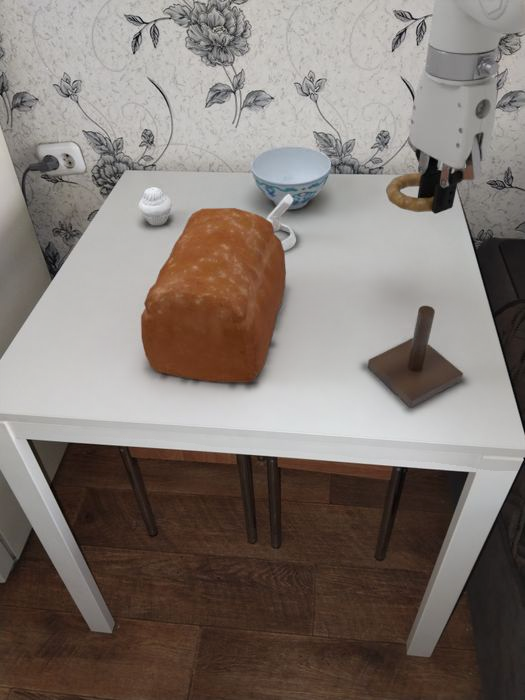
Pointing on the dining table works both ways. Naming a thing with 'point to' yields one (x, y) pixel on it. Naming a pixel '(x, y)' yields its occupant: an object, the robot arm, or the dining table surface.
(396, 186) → the ring
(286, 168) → the chinaware
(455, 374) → the stand
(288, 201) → the hook
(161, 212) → the muffin
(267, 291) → the bread
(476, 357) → the dining table surface
